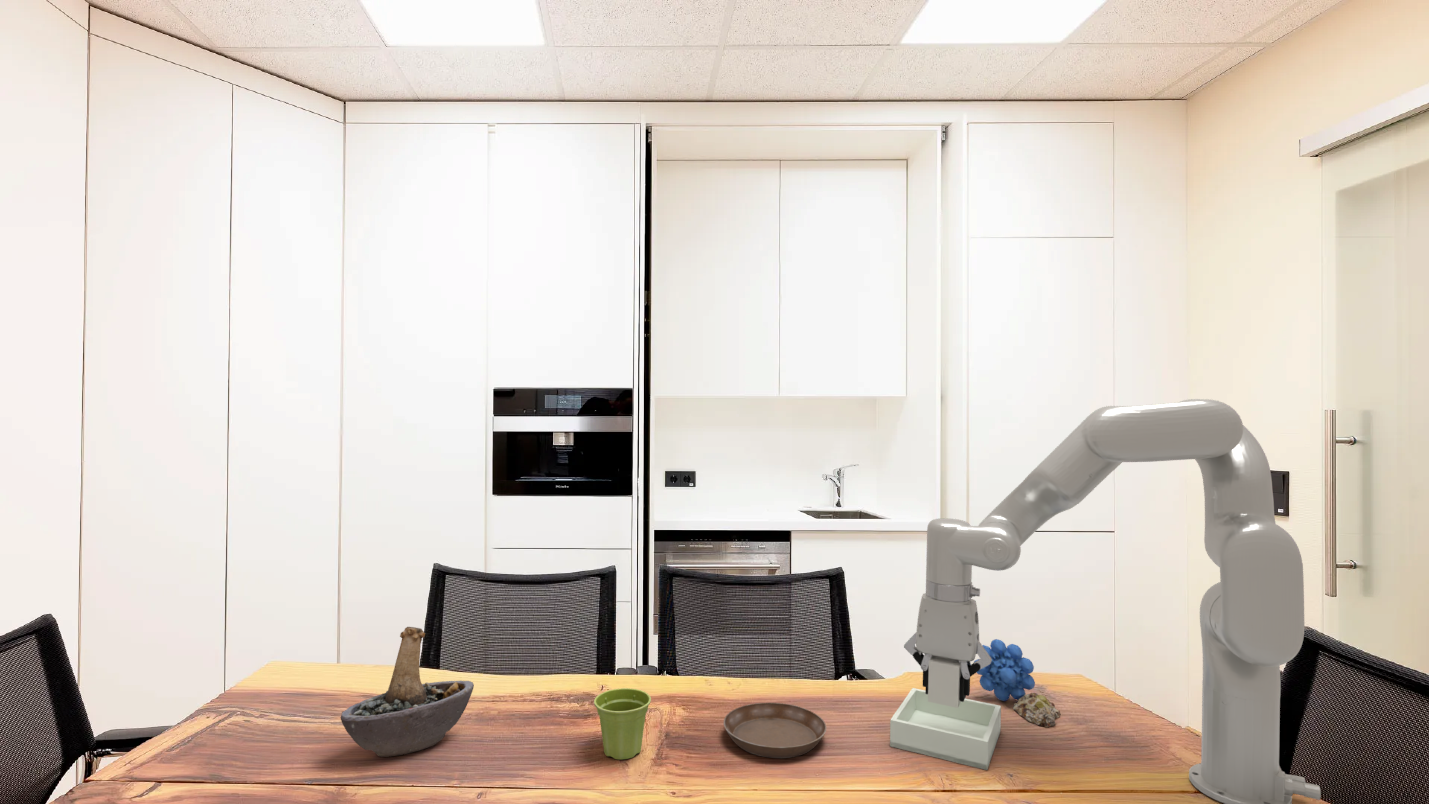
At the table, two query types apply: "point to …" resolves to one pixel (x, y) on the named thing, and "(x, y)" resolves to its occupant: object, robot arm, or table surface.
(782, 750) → the plant saucer
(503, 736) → the table surface
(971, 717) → the sage bin
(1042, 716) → the mineral rock
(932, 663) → the stone block
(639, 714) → the plant pot
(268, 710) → the table surface
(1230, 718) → the robot arm
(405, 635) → the planter
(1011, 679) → the blue knobby lump
